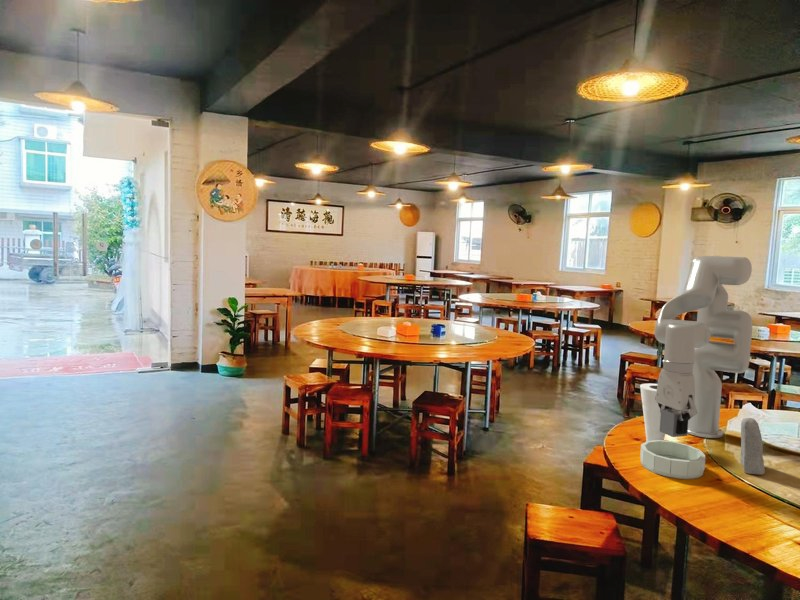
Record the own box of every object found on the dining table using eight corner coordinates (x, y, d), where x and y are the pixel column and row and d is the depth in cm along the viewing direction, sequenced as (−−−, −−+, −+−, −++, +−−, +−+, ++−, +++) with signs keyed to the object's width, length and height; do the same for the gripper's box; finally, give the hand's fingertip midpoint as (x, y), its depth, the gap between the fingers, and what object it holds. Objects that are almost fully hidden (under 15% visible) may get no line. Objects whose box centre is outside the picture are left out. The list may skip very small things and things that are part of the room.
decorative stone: (735, 459, 162) (739, 410, 160) (758, 463, 159) (763, 413, 158) (740, 473, 152) (744, 421, 151) (766, 477, 150) (770, 424, 148)
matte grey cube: (659, 431, 156) (661, 409, 155) (673, 430, 157) (675, 408, 157) (672, 437, 151) (674, 414, 150) (687, 435, 152) (688, 413, 152)
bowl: (628, 459, 161) (629, 442, 160) (673, 454, 165) (674, 438, 165) (669, 481, 145) (670, 463, 145) (716, 475, 150) (718, 458, 149)
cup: (629, 437, 179) (632, 384, 177) (657, 435, 182) (661, 382, 180) (651, 449, 169) (655, 392, 167) (680, 446, 171) (684, 391, 170)
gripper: (645, 361, 159) (641, 422, 161) (691, 374, 143) (686, 441, 145) (666, 360, 162) (662, 420, 163) (713, 373, 145) (708, 439, 147)
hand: (673, 429), depth 154 cm, fingers closed on matte grey cube, 5 cm apart
